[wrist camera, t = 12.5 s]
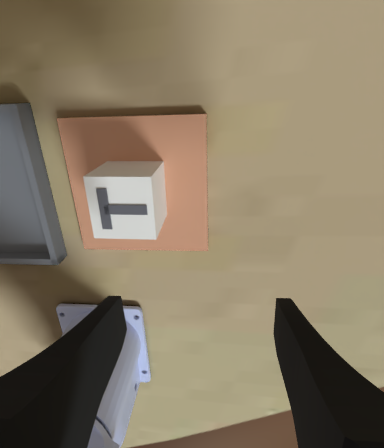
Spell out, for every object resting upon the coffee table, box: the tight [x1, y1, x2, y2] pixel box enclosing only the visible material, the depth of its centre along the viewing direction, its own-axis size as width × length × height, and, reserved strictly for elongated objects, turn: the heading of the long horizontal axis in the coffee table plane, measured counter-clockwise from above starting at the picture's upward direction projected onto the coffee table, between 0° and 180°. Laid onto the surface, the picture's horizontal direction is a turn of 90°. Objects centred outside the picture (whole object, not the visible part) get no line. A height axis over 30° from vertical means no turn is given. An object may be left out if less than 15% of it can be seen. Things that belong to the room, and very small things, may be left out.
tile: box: [57, 113, 208, 251], centre depth 22 cm, size 10×10×1 cm
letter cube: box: [83, 161, 167, 240], centre depth 19 cm, size 4×4×4 cm
